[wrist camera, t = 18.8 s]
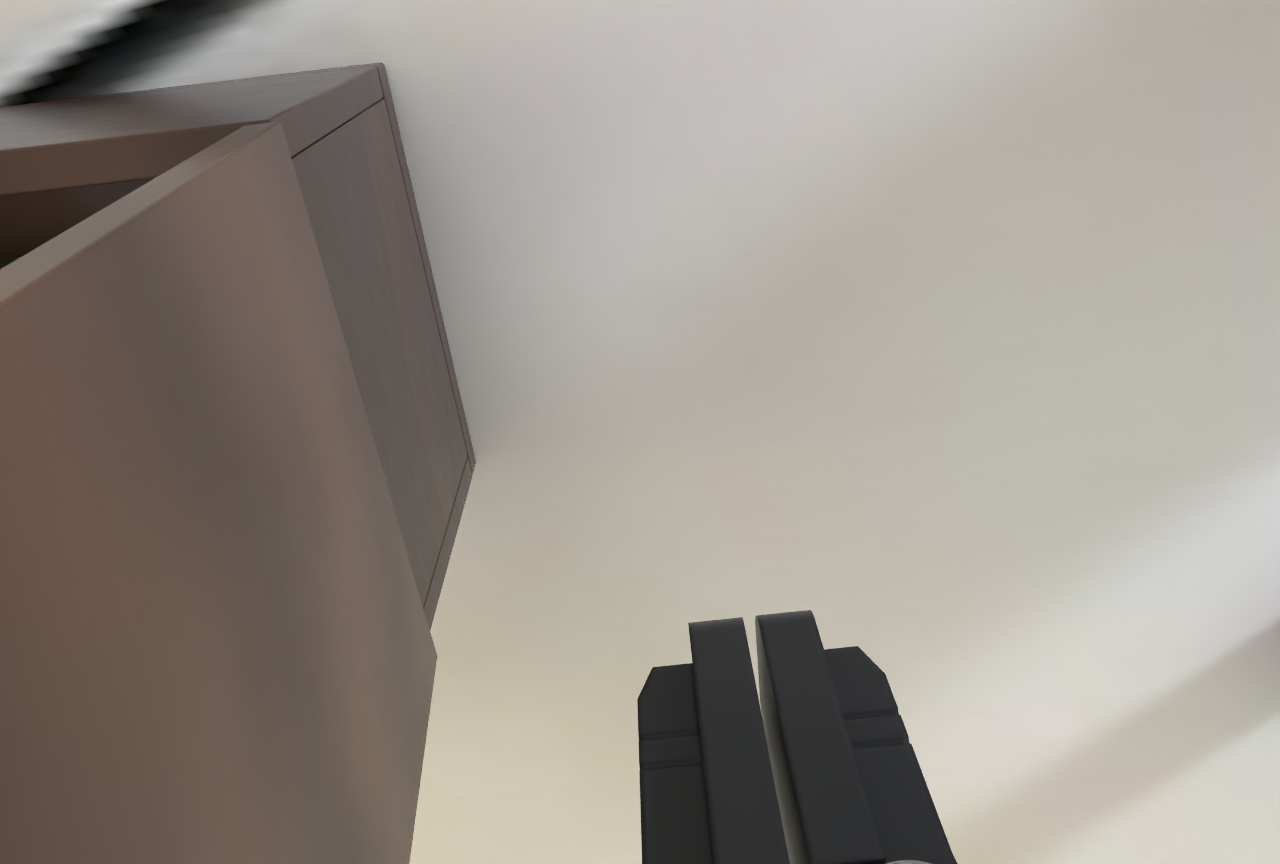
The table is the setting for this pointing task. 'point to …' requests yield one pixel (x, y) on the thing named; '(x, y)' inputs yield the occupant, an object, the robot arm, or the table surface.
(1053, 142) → the table surface
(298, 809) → the lid
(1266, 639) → the table surface
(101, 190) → the box
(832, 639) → the table surface
